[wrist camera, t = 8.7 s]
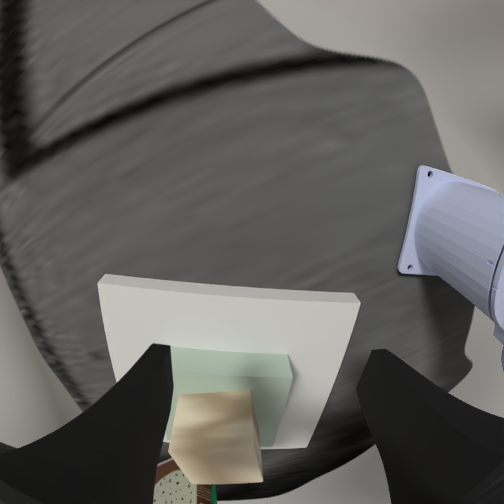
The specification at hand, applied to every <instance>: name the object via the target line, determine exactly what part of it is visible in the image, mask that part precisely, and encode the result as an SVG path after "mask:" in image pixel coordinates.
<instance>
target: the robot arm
mask: <svg viewBox="0 0 504 504" xmlns="http://www.w3.org/2000/svg"><path fill="white" fill-rule="evenodd" d="M428 172H430V176H429V177H428ZM409 265H410V268H409V269H407V268H408V266H409ZM397 268H398V271H399V272H401V273H403V274H418V275H435V276H439V277H440V278H442V279H443V280H444V281H446V282H447V283H448V284H449V285H451V286H452V287H453V288H454V289H456V290H457V291H458V292H459V293H461V294H462V295H463V296H464V297H465V298H467V299H468V300H469V301H470V302H471V303H473V304H474V305H475V306H476V307H478V308H479V309H480V310H481V311H482V312H483V313H485V314H486V315H487V316H488V317H489V318H490V319H491V320H493V321H494V323H495V330H494V336H495V337H496V338H497V339H498V340H499V341H500V342H501V343H503V345H504V195H503V194H500V193H497V190H495V189H492V188H490V187H487V186H485V185H482V184H479V183H477V182H474V181H471V180H468V179H465V178H462V177H460V176H457V175H453V174H450V173H447V172H444V171H441V170H438V169H434V168H431V167H428V166H419V168H418V170H417V175H416V182H415V188H414V194H413V199H412V205H411V210H410V215H409V220H408V224H407V229H406V233H405V238H404V242H403V246H402V250H401V254H400V258H399V262H398V266H397ZM502 367H503V370H504V347H503V351H502ZM173 389H174V383H173V372H172V360H171V346H170V345H164V344H155V343H153V344H151V345H150V346H149V347H148V349H147V350H146V351H145V352H144V353H143V355H142V356H141V357H140V358H139V359H138V360H137V362H136V363H135V364H134V365H133V366H132V367H131V368H130V369H129V370H128V372H127V373H126V374H125V375H124V376H123V377H122V378H121V379H120V380H119V381H118V382H117V383H116V384H115V385H114V386H113V387H112V388H111V389H110V390H109V391H108V392H106V393H105V394H104V395H103V396H102V397H101V398H100V399H99V400H98V401H97V402H95V403H94V404H93V405H92V406H91V407H89V408H88V409H87V410H85V411H84V412H83V413H81V414H80V415H79V416H77V417H76V418H75V419H73V420H71V421H70V422H68V423H67V424H65V425H64V426H62V427H61V428H59V429H57V430H56V431H54V432H52V433H50V434H48V435H46V436H44V437H42V438H41V439H39V440H36V441H35V442H32V443H30V444H28V445H26V446H23V447H21V448H18V449H15V450H12V451H9V452H6V453H3V454H0V504H153V499H154V488H155V478H156V470H157V465H158V460H159V456H160V452H161V448H162V444H163V440H164V436H165V432H166V428H167V424H168V420H169V416H170V412H171V405H172V397H173ZM356 390H357V394H358V398H359V402H360V406H361V410H362V412H363V415H364V417H365V420H366V422H367V425H368V427H369V429H370V432H371V434H372V436H373V439H374V441H375V444H376V446H377V448H378V451H379V453H380V456H381V459H382V462H383V465H384V469H385V473H386V477H387V481H388V486H389V492H390V497H391V503H392V504H504V418H502V417H498V416H495V415H493V414H490V413H487V412H485V411H482V410H480V409H477V408H475V407H473V406H471V405H469V404H467V403H465V402H463V401H461V400H459V399H458V398H456V397H454V396H452V395H451V394H449V393H448V392H446V391H444V390H443V389H441V388H440V387H438V386H437V385H435V384H434V383H432V382H431V381H430V380H428V379H427V378H425V377H424V376H423V375H421V374H420V373H419V372H417V371H416V370H414V369H413V368H412V367H410V366H409V365H408V364H406V363H405V362H404V361H402V360H401V359H400V358H398V357H397V356H395V355H394V354H393V353H391V352H390V351H388V350H386V349H378V350H372V351H371V354H370V356H369V359H368V361H367V364H366V366H365V369H364V371H363V373H362V376H361V378H360V381H359V383H358V385H357V387H356Z"/></svg>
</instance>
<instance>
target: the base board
mask: <svg viewBox="0 0 504 504" xmlns="http://www.w3.org/2000/svg"><path fill="white" fill-rule="evenodd" d="M98 291H99V298H100V304H101V311H102V317H103V322H104V328H105V333H106V338H107V343H108V348H109V353H110V357H111V361H112V366H113V370H114V374H115V378H116V382H118V381H119V380H120V379H121V378H122V377H123V376H124V375H125V374H126V373H127V372H128V370H129V369H130V368H131V367H132V366H133V365H134V364H135V363H136V362H137V360H138V359H139V358H140V357H141V356H142V355H143V353H144V352H145V351H146V350H147V349H148V347H149V346H150V345H151V344H153V343H155V344H164V345H170V346H171V360H172V372H173V383H174V389H173V397H172V405H171V412H170V416H169V420H168V424H167V428H166V432H165V436H164V440H163V442H169V443H170V439H171V434H172V428H173V423H174V417H175V412H176V407H177V401H178V396H179V394H198V393H214V392H227V391H238V390H248V389H251V394H252V399H253V404H254V408H255V413H256V418H257V422H258V427H259V436H260V448H261V449H287V448H305V447H307V445H308V443H309V441H310V439H311V437H312V435H313V432H314V430H315V428H316V426H317V423H318V421H319V419H320V416H321V414H322V412H323V409H324V407H325V404H326V402H327V400H328V397H329V395H330V392H331V390H332V387H333V384H334V382H335V379H336V376H337V374H338V371H339V368H340V366H341V363H342V360H343V357H344V354H345V351H346V348H347V345H348V342H349V339H350V336H351V333H352V330H353V327H354V324H355V321H356V317H357V314H358V311H359V307H360V304H361V303H360V301H359V300H358V298H357V297H356V296H355V294H354V293H341V292H319V291H300V290H283V289H267V288H252V287H239V286H225V285H213V284H201V283H190V282H179V281H168V280H158V279H148V278H138V277H129V276H120V275H111V274H105V275H104V276H103V277H102V278H101V280H100V281H99V282H98Z"/></svg>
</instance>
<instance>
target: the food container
mask: <svg viewBox="0 0 504 504" xmlns="http://www.w3.org/2000/svg"><path fill="white" fill-rule="evenodd" d="M153 504H217V495H216V484H191V482H190V481H189V480H188V478H187V477H186V476H185V474H184V473H183V472H182V470H181V469H180V468H179V466H178V465H177V463H176V462H175V461H174V459H173V458H170V459H168V460H166V461H164V462H162V463H159V464H158V465H157V470H156V478H155V488H154V499H153Z"/></svg>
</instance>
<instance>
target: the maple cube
mask: <svg viewBox="0 0 504 504" xmlns="http://www.w3.org/2000/svg"><path fill="white" fill-rule="evenodd" d="M168 452H169V454H170V455H171V456H172V458H173V459H174V461H175V462H176V463H177V465H178V466H179V468H180V469H181V470H182V472H183V473H184V474H185V476H186V477H187V478H188V480H189V481H190V482H191V484H239V483H253V482H263V473H262V461H261V448H260V436H259V427H258V422H257V418H256V413H255V408H254V404H253V399H252V394H251V389H248V390H238V391H227V392H214V393H198V394H179V396H178V401H177V407H176V412H175V417H174V423H173V428H172V434H171V439H170V445H169V451H168Z"/></svg>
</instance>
